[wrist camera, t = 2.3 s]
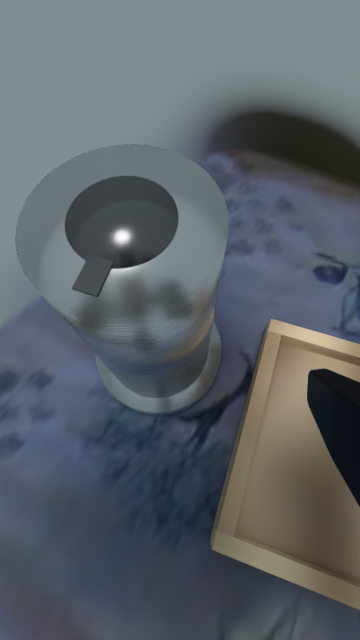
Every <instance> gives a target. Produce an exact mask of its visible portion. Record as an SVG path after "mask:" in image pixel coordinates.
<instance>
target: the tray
mask: <svg viewBox="0 0 360 640" xmlns="http://www.w3.org/2000/svg"><path fill="white" fill-rule="evenodd" d="M322 368H326V369H329V370H331V371H334V372H336V373H338V374H341V375H343V376H346V377H348V378H351V379H353V380H355V381H358V382H360V344H357V343H353V342H350V341H347V340H343V339H340V338H336V337H333V336H329V335H326V334H322V333H319V332H316V331H312V330H309V329H305V328H302V327H298V326H295V325H291V324H288V323H284V322H281V321H278V320H274V319H271V320H270V322H269V323H268V325H267V327H266V329H265V330H264V332H263V336H262V340H261V344H260V348H259V351H258V355H257V359H256V363H255V367H254V371H253V374H252V378H251V382H250V386H249V390H248V394H247V397H246V401H245V405H244V409H243V413H242V417H241V420H240V424H239V428H238V432H237V436H236V440H235V443H234V447H233V451H232V455H231V459H230V462H229V466H228V470H227V474H226V478H225V482H224V485H223V489H222V493H221V497H220V501H219V505H218V508H217V512H216V516H215V520H214V524H213V528H212V531H211V535H210V544H211V548H212V550H214V551H216V552H219V553H221V554H224V555H226V556H229V557H231V558H234V559H236V560H238V561H241V562H243V563H246V564H248V565H251V566H253V567H256V568H258V569H261V570H263V571H265V572H268V573H270V574H273V575H275V576H278V577H280V578H283V579H285V580H287V581H290V582H292V583H295V584H297V585H300V586H302V587H305V588H307V589H310V590H312V591H314V592H317V593H319V594H322V595H324V596H327V597H329V598H332V599H334V600H337V601H339V602H341V603H344V604H346V605H349V606H351V607H354V608H356V609H359V610H360V507H359V505H358V504H357V502H356V500H355V498H354V497H353V495H352V493H351V491H350V490H349V488H348V486H347V484H346V483H345V481H344V479H343V477H342V476H341V474H340V472H339V471H338V469H337V467H336V465H335V463H334V462H333V460H332V458H331V456H330V454H329V451H328V449H327V447H326V445H325V442H324V440H323V438H322V436H321V433H320V431H319V429H318V426H317V424H316V422H315V419H314V417H313V415H312V413H311V410H310V408H309V406H308V402H307V385H308V374H309V372H310V371H311V370H314V369H322Z"/></svg>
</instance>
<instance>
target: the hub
mask: <svg viewBox="0 0 360 640" xmlns="http://www.w3.org/2000/svg"><path fill="white" fill-rule="evenodd" d="M228 226H229V222H228V211H227V207H226V203H225V200H224V197H223V195H222V193H221V191H220V189H219V187H218V186H217V184H216V182H215V181H214V180H213V179H212V178H211V176H210V175H209V174H208V173H207V172H206V171H205V170H204V169H202V168H201V167H200V166H199V165H197V164H196V163H195V162H193V161H192V160H190V159H188V158H186V157H184V156H182V155H180V154H178V153H175V152H173V151H170V150H167V149H163V148H160V147H154V146H148V145H135V144H131V145H115V146H108V147H104V148H99V149H95V150H92V151H89V152H86V153H83V154H81V155H79V156H76V157H74V158H72V159H70V160H68V161H67V162H65V163H63V164H62V165H60V166H59V167H57V168H56V169H54V170H53V171H52V172H50V173H49V174H48V175H47V176H46V177H44V178H43V180H42V181H41V182H40V183H39V184H38V185H37V186H36V187H35V188H34V190H33V191H32V192H31V194H30V195H29V196H28V198H27V200H26V202H25V204H24V205H23V207H22V210H21V213H20V215H19V218H18V222H17V226H16V236H15V242H16V251H17V255H18V259H19V262H20V265H21V267H22V269H23V271H24V273H25V275H26V276H27V278H28V279H29V281H30V282H31V283H32V284H33V285H34V287H35V288H36V289H37V290H38V291H39V292H40V293H41V294H42V296H43V297H44V298H45V299H46V300H47V301H48V302H49V303H50V304H51V306H52V307H53V308H54V309H55V310H56V311H57V312H58V313H59V315H60V316H61V317H62V318H63V319H64V320H65V321H66V322H67V323H68V325H69V326H70V327H71V328H72V329H73V330H74V331H75V332H76V333H77V335H78V336H79V337H80V338H81V339H82V340H83V341H84V342H85V343H86V345H87V346H88V347H89V348H90V349H91V350H92V351H93V352H94V354H95V356H96V365H97V369H98V373H99V376H100V378H101V380H102V382H103V384H104V385H105V387H106V388H107V389H108V391H109V392H110V393H111V394H112V395H113V396H114V397H115V398H117V399H118V400H119V401H120V402H121V403H123V404H124V405H125V406H127V407H128V408H130V409H132V410H134V411H136V412H139V413H142V414H146V415H153V416H165V415H172V414H175V413H179V412H181V411H184V410H186V409H188V408H190V407H191V406H193V405H194V404H196V403H197V402H198V401H199V400H201V399H202V398H203V397H204V395H205V394H206V393H207V392H208V390H209V389H210V388H211V386H212V384H213V382H214V380H215V378H216V375H217V372H218V369H219V365H220V361H221V353H222V348H221V339H220V335H219V332H218V329H217V327H216V324H215V322H214V315H215V308H216V302H217V296H218V290H219V284H220V278H221V272H222V266H223V260H224V254H225V248H226V242H227V236H228Z"/></svg>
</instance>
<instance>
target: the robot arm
mask: <svg viewBox="0 0 360 640" xmlns="http://www.w3.org/2000/svg"><path fill="white" fill-rule="evenodd" d="M307 402H308V406H309V408H310V410H311V413H312V415H313V417H314V419H315V422H316V424H317V426H318V429H319V431H320V433H321V436H322V438H323V440H324V442H325V445H326V447H327V449H328V451H329V454H330V456H331V458H332V460H333V462H334V463H335V465H336V467H337V469H338V471H339V472H340V474H341V476H342V477H343V479H344V481H345V483H346V484H347V486H348V488H349V490H350V491H351V493H352V495H353V497H354V498H355V500H356V502H357V504H358V505H359V507H360V382H358V381H355V380H353V379H351V378H348V377H346V376H343V375H341V374H338V373H336V372H334V371H331V370H329V369H326V368H322V369H314V370H311V371H310V372H309V374H308V385H307Z"/></svg>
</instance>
